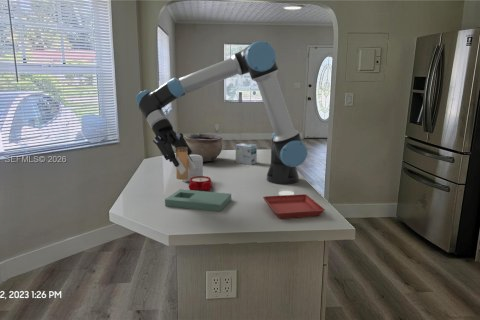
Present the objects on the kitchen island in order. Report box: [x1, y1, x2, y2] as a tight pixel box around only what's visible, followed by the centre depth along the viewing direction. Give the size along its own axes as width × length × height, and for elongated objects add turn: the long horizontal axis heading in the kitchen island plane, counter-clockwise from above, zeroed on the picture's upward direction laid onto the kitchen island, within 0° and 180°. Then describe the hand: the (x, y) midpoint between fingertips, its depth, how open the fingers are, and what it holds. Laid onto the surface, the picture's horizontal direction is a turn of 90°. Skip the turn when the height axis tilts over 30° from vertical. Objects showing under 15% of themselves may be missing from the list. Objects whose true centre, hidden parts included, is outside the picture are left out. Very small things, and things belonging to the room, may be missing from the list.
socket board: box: [164, 188, 232, 212], centre depth 144 cm, size 22×14×2 cm, turn 75°
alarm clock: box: [188, 175, 213, 192], centre depth 163 cm, size 10×6×15 cm
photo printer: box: [182, 155, 204, 183], centre depth 175 cm, size 10×4×12 cm, turn 123°
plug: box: [175, 147, 188, 180], centre depth 143 cm, size 4×4×12 cm
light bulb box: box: [235, 142, 258, 166], centre depth 213 cm, size 11×7×11 cm, turn 58°
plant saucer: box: [262, 193, 326, 219], centre depth 137 cm, size 18×18×3 cm
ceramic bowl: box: [184, 132, 224, 163], centre depth 217 cm, size 22×22×15 cm
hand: (188, 171), depth 141 cm, fingers closed on plug, 4 cm apart
